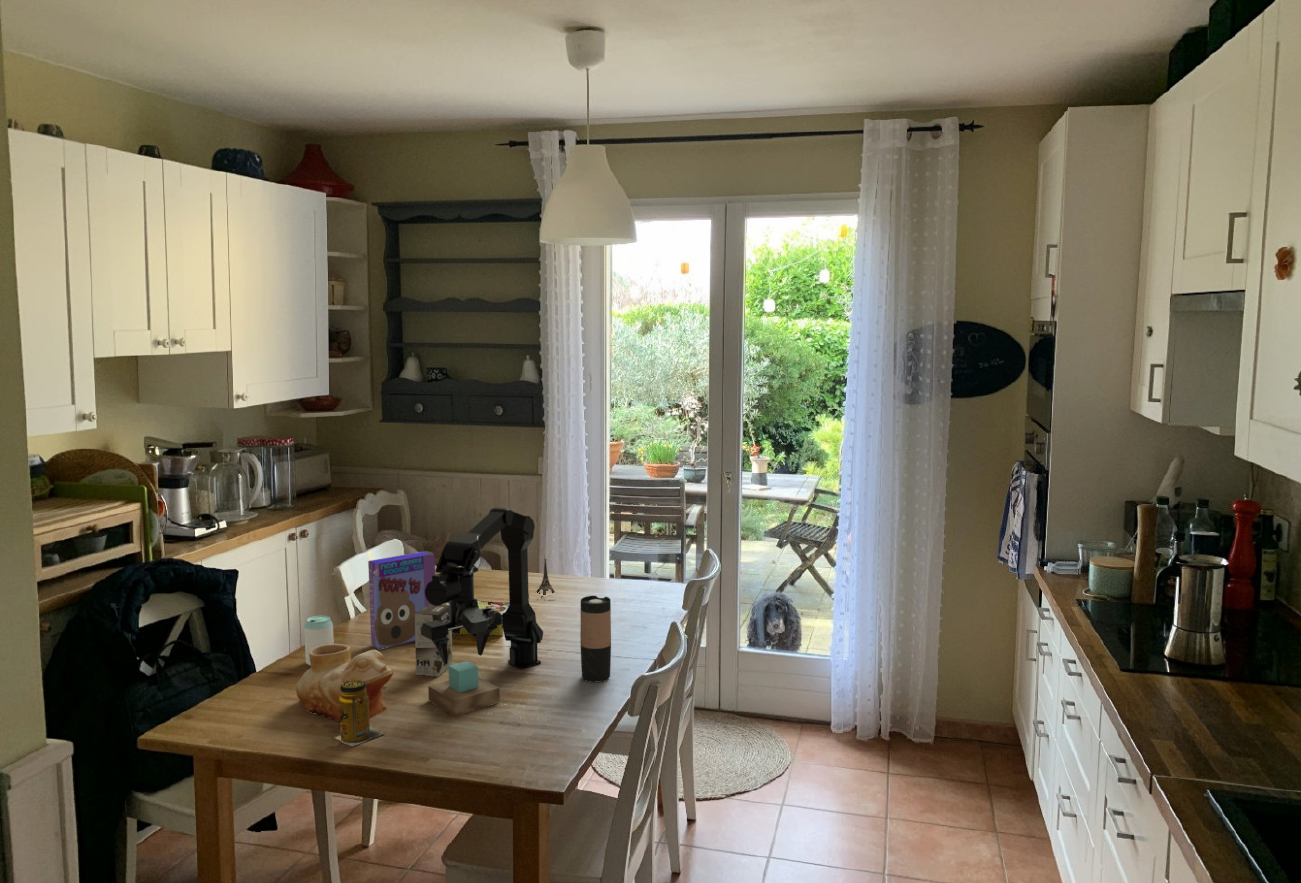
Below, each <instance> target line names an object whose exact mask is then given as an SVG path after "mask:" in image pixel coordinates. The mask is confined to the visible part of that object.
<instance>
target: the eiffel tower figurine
mask: <svg viewBox="0 0 1301 883" xmlns="http://www.w3.org/2000/svg"><path fill="white" fill-rule="evenodd" d="M543 560H544V563H543V564H544V565H543V577H542V579H541V583H540V585H539V587H538V588H539V589H537V590H536V591H535V593H536V592H537V593H538V592H539V593H540V592H541V590H542V592H543V595H546V591H550V592H553V593H554V592H555V593H556V591H555V590H554V588H553V587H552V584H551V582H550V580H549V576H548V567H547V558H546V557H544V559H543Z"/></svg>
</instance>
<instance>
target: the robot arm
mask: <svg viewBox="0 0 1301 883" xmlns="http://www.w3.org/2000/svg"><path fill="white" fill-rule="evenodd" d="M535 527H536V525H535V522H534V519H533V518H532V517H531V516H530V515H524V514H520V513H518V512H515V511H514V510H512V509H510V508H502V507H493V508H491V509H490V510H489V512H488V514H487V515H486V516H484V517H483V518H482V519H481V520H480V521H479V522H478V523H477V524H476V525H475V526H473V527H472V529H470V530H469V531H468V532H467V533H465V534H461V535H457V536H455V537H453V538H452V539H449V540H448V541H447V542H446V543H445V544H444V546H443V549H442V551H441V553H440V558H439V559H438V562H437V565H436V568H435V575H433V576H432V581H431V582H429V583H428V584H427V586H426V589H425V596H426V599H427V600H428V602H429V603H430V604H432V605H434V606H440V605H445V604H446V603H447V604H448V605H449V615H447V620H450V622H448V623H442V622H440V621H437V620H435V621H430V622H426V623H423V624H422V626H421V635H422V636H424V637H426V638H428V639H430V640H432V641H433V643H434V645H435V646H436V648H437V650H438V652H439V654H440V657H441V659H442V661H443V663H444V664H447V662H448V653H447V642H448V641H449V638H447V637H446V636H447V635H448V631H451V630H452V631H454V630H458V629H463V628H464V629H465V630H466V632H467V633H468V634H470V635H475V637H476V639H475V641H476V649H477V654H478V656H483V653H484V651H485V647H486V644H487V642H488V638H489V636H490V634H491V633H492V632H493V631H494V630H496V629H498V626H500V625H501V629H502V632H503V635H504V640H505V642H510V647H509V649H508V650H509V660H507V663H508V664H510V665H513V666H514V667H516V668H518V669H525V668H528V667H532V666H535V665H540V664H542V661H541V660H539V658H538V644H540V643H542V640H543V637H544V630H543V629H542V628H541V626H540V625H539V624H538V623H537V618H536V612H535V610H534V608H532V606H531V604H530V601H529V600H530V599H529V593H530V592H529V566H528V565H529V564H528V562H529V560H528V559H529V558H528V556H529V555H528V548H529V547H530V544H531V542H532V541H533V540H534V532H535ZM499 533H500V539H501V541H502V543H503V544H504V546H505V547H506V549H507V561H508V563H507V564H508V597H509V598H508V599H509V600H508V602H509V603H508V604H509V605H508V606H507V608H506V609H505V611H504V612H503V613H500V611H497V610H495V609H494V608H493V607H492V606H490V607H486V608H479V602H478V599H477V598H475V576H474V574H475V573H477V572H479V568H478V567H477V566H476V563H477V562H478V560H479V559H480V558H481V557H482V549H483V548H484V547H485V546H486V545H487V544H488V543H489V542H490V541H492V539H493V538H494V537H495V536H497V534H499Z"/></svg>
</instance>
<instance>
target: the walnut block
mask: <svg viewBox="0 0 1301 883" xmlns="http://www.w3.org/2000/svg"><path fill="white" fill-rule="evenodd" d="M478 686H479V687H478V688H474V689H470V690H467V691H463V692H458V691H456V690H455V689H453V688H451V687H450V686H449V680H445V681H442V682H439V683H435V684H431V685H428V689H427V690H428V701H429V700H430V701H431V703H432V702H433V703H432V704H433V705H435V704H436V705H435V706H437V707H439V708H441V709H442V710H444V711H445V710H446V712H447V711H448V712H447V713H449V714H451V715H452V716H454V717H456V716H460V715H463V714H466V712H467V713H470V712H473V711H476V710H479V708H480V709H483V708H486V706H487V707H489V706H488V705H490V706H492V705H491V704H493V705H496V704H495V703H497V704H499V703H498V702H500V703H501V690H500V689H501V688H500V687H499V686H498V685H495V684H494V683H492V682H489V681H488V680H486V679H483V678H481V677H480V676H478ZM430 701H429V702H430ZM472 710H473V711H472ZM469 711H470V712H469ZM462 713H463V714H462Z"/></svg>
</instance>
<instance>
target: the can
mask: <svg viewBox="0 0 1301 883" xmlns="http://www.w3.org/2000/svg"><path fill="white" fill-rule="evenodd" d="M303 630H304V646H305V647H304V649H305V650H304V652H305V663H306V665H308V666H309V667H311V663H310V657H309V652H310V650H311V649H313V648H315V647H318V646H321V645H327V644H335V643H334V642H335V641H334V639H335V638H334V623H333V621H332V620H331V617H330V616H327V615H314V616H310V617H308V618H307V619H306V623H304V625H303Z"/></svg>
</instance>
